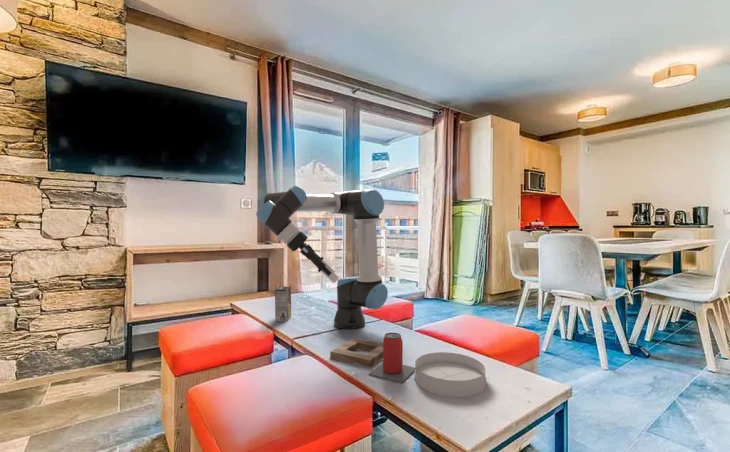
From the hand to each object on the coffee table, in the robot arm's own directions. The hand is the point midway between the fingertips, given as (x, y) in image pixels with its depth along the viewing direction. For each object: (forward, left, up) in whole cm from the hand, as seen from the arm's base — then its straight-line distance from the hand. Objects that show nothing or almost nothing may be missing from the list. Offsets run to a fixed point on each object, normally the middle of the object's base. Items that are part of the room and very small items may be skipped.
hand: (334, 277), depth 132 cm
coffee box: (-28, -52, -30) cm, 66 cm away
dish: (-2, +43, -30) cm, 53 cm away
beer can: (+2, +25, -29) cm, 39 cm away
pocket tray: (-6, +8, -30) cm, 31 cm away
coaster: (+2, +25, -30) cm, 39 cm away
